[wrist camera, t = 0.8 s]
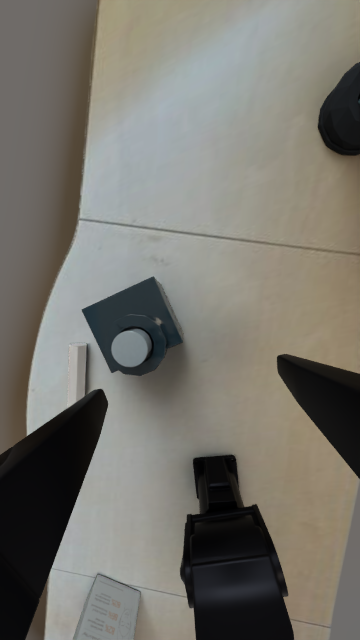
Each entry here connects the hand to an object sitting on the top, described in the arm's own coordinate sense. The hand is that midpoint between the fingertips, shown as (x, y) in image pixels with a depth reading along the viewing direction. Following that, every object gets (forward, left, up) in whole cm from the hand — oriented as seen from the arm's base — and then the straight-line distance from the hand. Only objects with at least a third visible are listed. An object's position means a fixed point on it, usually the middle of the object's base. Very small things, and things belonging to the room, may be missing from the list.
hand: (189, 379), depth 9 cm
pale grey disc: (0, +5, -9) cm, 10 cm away
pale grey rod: (-8, +17, -17) cm, 25 cm away
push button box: (+2, +6, -17) cm, 18 cm away
